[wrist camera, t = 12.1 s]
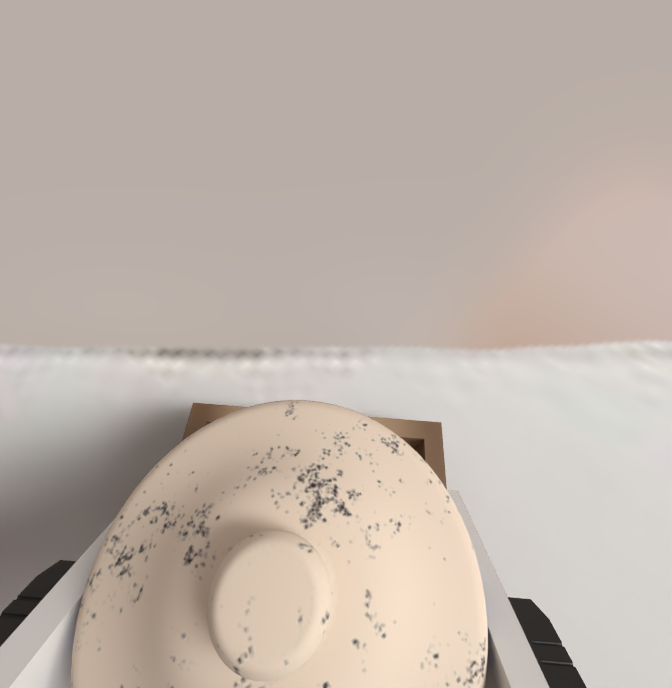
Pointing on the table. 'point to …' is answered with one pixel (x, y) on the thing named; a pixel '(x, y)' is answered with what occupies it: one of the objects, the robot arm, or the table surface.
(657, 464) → the table surface
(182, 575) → the teacup with lid
